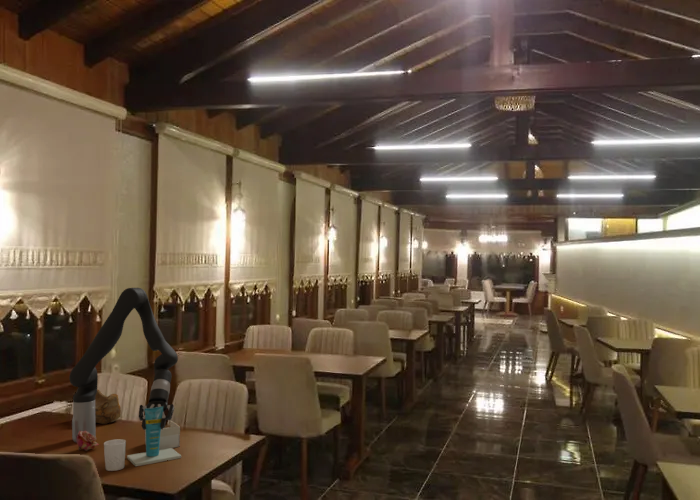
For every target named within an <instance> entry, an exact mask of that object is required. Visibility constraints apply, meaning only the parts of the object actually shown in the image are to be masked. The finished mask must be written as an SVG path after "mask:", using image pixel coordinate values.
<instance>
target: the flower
mask: <svg viewBox="0 0 700 500" xmlns="http://www.w3.org/2000/svg"><path fill="white" fill-rule="evenodd" d="M76 439H77V442H76V444H77V446H78V449H77V450H78V451H81V450H82V449H83V451H87V452H89V450H91V449H94V448H95V447H96V446H99V443H98V442H96V440H97V437H94V436H93V435H91V434H90V433H89V432H87V431H79V433H78V434H77V436H76Z"/></svg>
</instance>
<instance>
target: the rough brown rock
mask: <svg viewBox="0 0 700 500" xmlns="http://www.w3.org/2000/svg"><path fill="white" fill-rule="evenodd" d="M121 415H122V407H121V405H120V401H119V395H118V394H117V393H111V394H109V395H108V396H107V395H105V394H104V393H102V391H100V389H98V388H97V393H96V396H95V423H97V424H101V425H108V423H113V422H116V421H117V420H119V419H120V417H121Z"/></svg>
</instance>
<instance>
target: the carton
mask: <svg viewBox="0 0 700 500" xmlns="http://www.w3.org/2000/svg"><path fill="white" fill-rule="evenodd" d="M180 434H181V426H180V425H178V424H177V423H176V422H174V421H172V419H171V420H169V426H168V427H164V428H163V429H161V433H160V445H159V450H161V449H167V448H172V449H174V448H179V447H180V444H181V443H180V442H181V441H180V439H181V438H180V436H181V435H180ZM144 444H145V445H146V430H144Z"/></svg>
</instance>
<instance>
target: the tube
mask: <svg viewBox="0 0 700 500" xmlns="http://www.w3.org/2000/svg"><path fill="white" fill-rule="evenodd" d="M162 413H163V406H162V407H156V408H146V409H145V411H144V415H145V420H146V444H145V452H146V456H148V457H155V456H158V455H159V445H160V433H161V428H160V425H161V420H162V419H163V418H162Z"/></svg>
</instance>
